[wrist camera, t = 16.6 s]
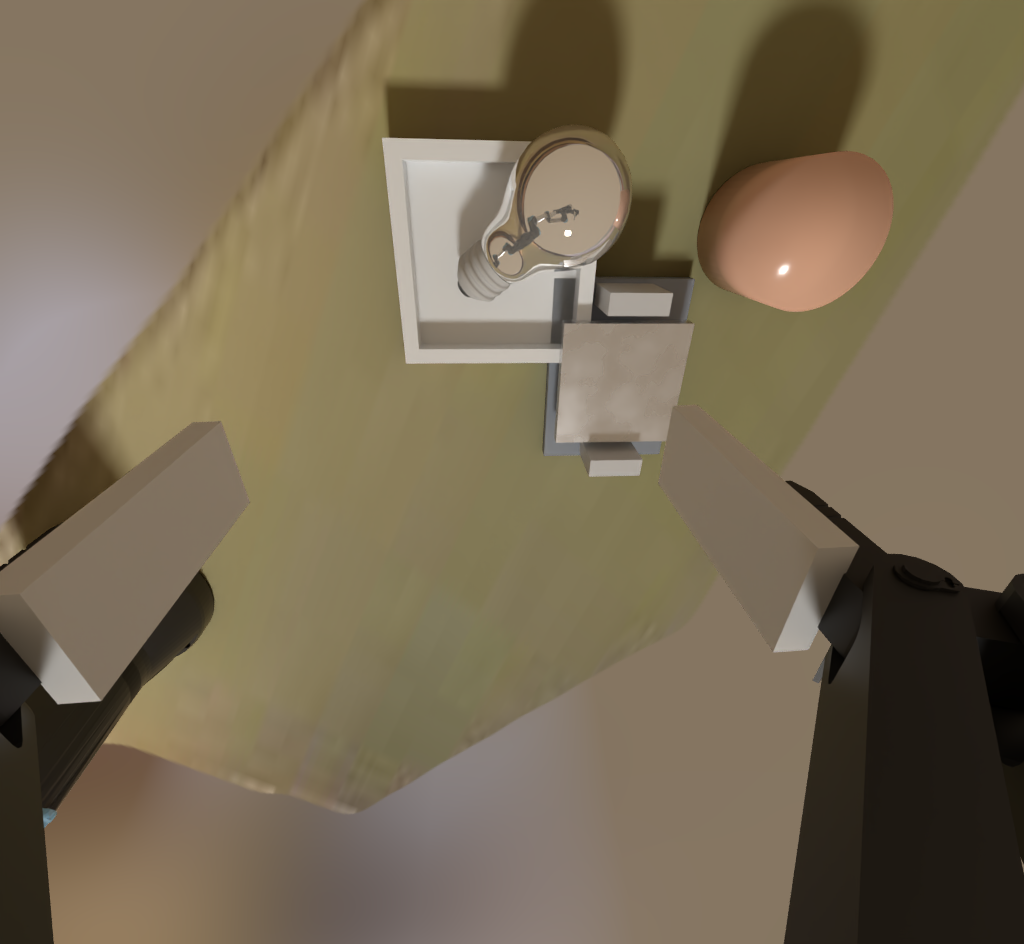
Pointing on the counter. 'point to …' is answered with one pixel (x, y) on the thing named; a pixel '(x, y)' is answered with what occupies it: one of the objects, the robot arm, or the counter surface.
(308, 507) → the counter surface
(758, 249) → the peach rounded pebble
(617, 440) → the plate
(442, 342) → the tray
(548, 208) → the light bulb
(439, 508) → the counter surface
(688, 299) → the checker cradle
